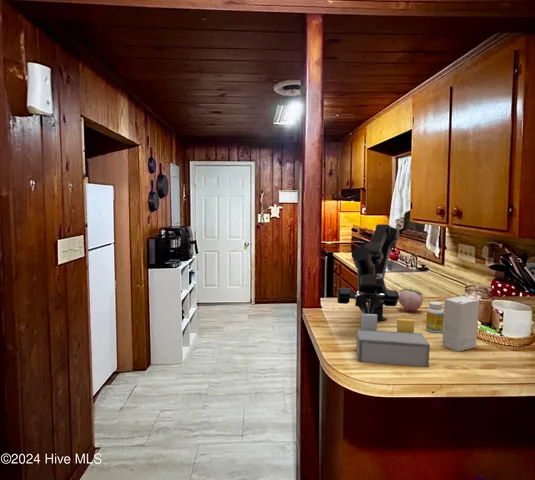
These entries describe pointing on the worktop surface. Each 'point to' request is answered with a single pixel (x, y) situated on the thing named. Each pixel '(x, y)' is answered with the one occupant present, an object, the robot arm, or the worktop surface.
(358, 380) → the worktop surface
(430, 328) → the supplement bottle
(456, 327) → the skincare box
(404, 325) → the mustard button
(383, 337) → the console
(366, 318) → the light gray button
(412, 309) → the decorative fruit
